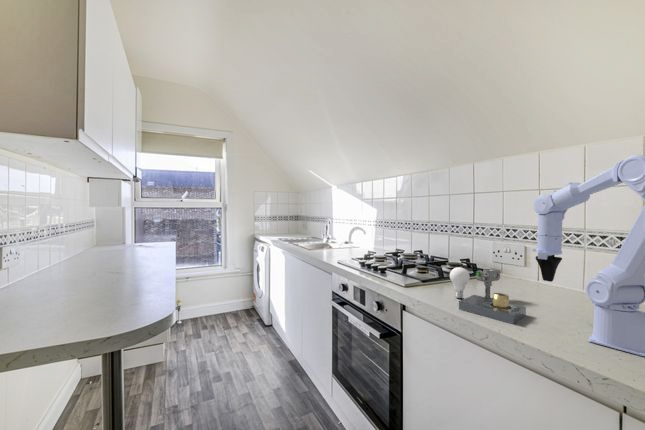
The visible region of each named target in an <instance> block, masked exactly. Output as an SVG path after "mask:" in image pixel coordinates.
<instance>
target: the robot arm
mask: <svg viewBox="0 0 645 430" xmlns="http://www.w3.org/2000/svg"><path fill="white" fill-rule="evenodd" d="M620 184H625V185H626V186H627V187H628V188H629V189H631V190H632V191H633V192H635V193H636V194H637V195H639V196H640V197H641V199H642V200H643V202H644V203H645V155H644V154H634V155H630V156H628V157H627V158H625V159H622V160H620V161H617V162H615V163H614V165H612V167H610V168H608V169H606V170H604V171H602V172H601V173H599V174H597V175H595V176H593V177H591V178H589V179H588V180H586V181H584V182H582V183H580V182H567V183H565V186H564V187H562V188H559V189H558V190H553V191H551V193H550V194H548V195H547V194H539V195H538V196H537V197H536V198H535V199H534V200H533V205H532V206H533V207H532V208H533V210H534V212H535V213H536V214H537V239H536V240H537V241H536V248H532V250H531V251H532V252H536V253H537V255H536V256H535V260H536V262H537V264H538V265H539V269H540V274H541V277H542V280H543V281H546V282H550V283H551V282H554V279H555V275H556V271H557V269H558V266H559V265H560V263H561V262H562V261H563V257H560V256H559V255H563V251H562V247H563V245H562V244H563V243H562V240H563V239H562V238H563V221H564V219H565V215H566V213H567V211H568V210H569V209H571V208H574V207H576V206H579V205H580V204H583V203H586V202H587V201H589V200H590V197H591V195H593V194H596V193H598V192H601V191H604V190H606V189H610V188H612V187H615V186H619V185H620ZM585 293H586V296H587V297H588V299H589V300H590V301H591V304H593V321H592V322H593V326H592V333H591V335H590V336H589V338H588V342H590V343H594V344H596V345H601V346H605V347H608V348H612V349H615V350H619V351H622V352H626V353H629V354H630V353H631V354H633V355H637V356H641V357H643V358H644V357H645V312H644V311H641V310H640V305H642V304H644V303H645V204H644V206H643V207H642V210H641V211H640V213H639V215H638V216H637V218H636V219H635V222H634V223H633V225H632V226H631V229H630V230H629V232H628V234H627V235H626V237H625V239H624V241H623V243H622V245H621V246H620V249H619V250H618V252H617V253H616V256H615V257H614V259H613V260H612V262H611V264H610V265H608V266H607V267H604V268H602V269H600V270H599V271H598V272H597V273H596V275H595V276H594V277H593V278H591V279H590V280H588V281H587V282H586V285H585Z"/></svg>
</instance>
